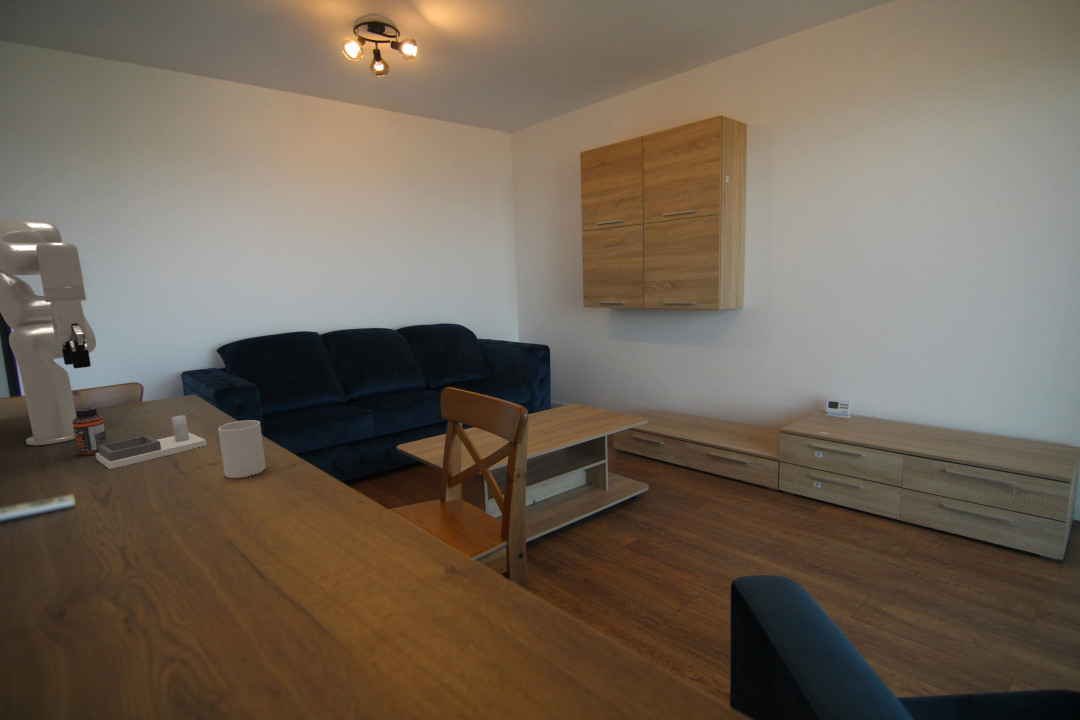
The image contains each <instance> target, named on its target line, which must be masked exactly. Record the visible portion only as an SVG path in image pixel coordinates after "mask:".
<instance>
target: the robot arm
mask: <svg viewBox="0 0 1080 720" xmlns="http://www.w3.org/2000/svg"><path fill="white" fill-rule="evenodd" d="M62 241H63V240H62V234H61V232H60V230H59V228H58V227H57V226H56V225H55V224H54V223H52V222H49V221H46V220H36V219H35V220H34V219H33V220H32V219H11V218H9V219H5V218H4V219H0V314H1V315H2V318H3V320H4V322H5V323H6V324H7V326H8V327H9V328H11V329H12V331H11V332H10V334H9V337H8V343H9V346H10V349H11V351H12V353H13V355H14V358H15V361H16V363H17V366H18V367H17V368H18V369H19V373H20V378H21V383H22V386H23V392H24V397H25V403H26V406H27V412H28V417H29V422H30V426H31V432H32V436H29V437H28V438H26V440H25V442H26V445H28V446H46V445H52V444H54V445H55V444H59V443H65V442H67V441H72V440H76V439H75V434H74V429H73V420H74V419H75V418H76V416H77V415H76V407H75V401H74V397H73V390H72V386H71V381H70V380H71V379H70V375H69V373H68V371H67V370H66V369H65V368H64V367H63V366H61V365H60V364H58V363H57V362H55V361H54V360H55V359H61V358H63V362H64V365H66V366H68V365H72V366H73V368H74V369H82V368H89V367H91V359H90V353H92V352H94V351H95V348H96V346H97V338H96V336H95V332H94V331H93V328H92V327H91V325H90V323H89V321H88V320H87V318H86V316H85V314H84V308H83V305H82V301H87V297H86V296H87V295H86V291H85V284H84V278H83V271H82V267H81V261H80V256H79V250H78V247H77V246H76V245H75V244H73V243H71V242H64V241H63V242H62ZM39 275H40V278H41V279H40V280H41V284H42V285H41V286H42V290H43V291H42V292H43V295H39V294H38V295H37V294H36V293H35V292H34V289H33V288H32V287H31V285H30V284H28V282H26V281H24V280H23V279H21V278H20V277H17V276H39Z"/></svg>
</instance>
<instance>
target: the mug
mask: <svg viewBox="0 0 1080 720" xmlns="http://www.w3.org/2000/svg"><path fill="white" fill-rule="evenodd" d="M217 431H218V436H219V444H220V445H219V446H220V450H221V451H220V452H221V459H222V465H223V473H224V476H225V477H226V478H230V479H241V478H242V477H243V478H247V477H248V476H249V477H252V476H251V475H253V476H255V474H256V475H258V474H260V473H262V472H264V471H265V470H266V460H265V450H264V443H263V434H262V428H261V421H259V420H253V419H249V420H247V419H246V420H239V421H233V422H228V423H225V424H222V425H221V426H219V427H218V430H217ZM264 469H265V470H264ZM263 470H264V471H263ZM249 477H248V478H249Z"/></svg>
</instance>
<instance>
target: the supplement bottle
mask: <svg viewBox="0 0 1080 720" xmlns="http://www.w3.org/2000/svg"><path fill="white" fill-rule="evenodd" d="M75 412H76V418H75V419H74V420H73V429H74V434H75V439H74V440H75V445H76V450H77V453H78V455H80V456H91V455H93V456H94V455H96V453H99V450H98V445H103V444H107V443H108V439H107V434H106V427H105V423H104V417H103V416H102V415H101V414H98V411H97V407H96V406H87V407H81V408H78V409H75Z"/></svg>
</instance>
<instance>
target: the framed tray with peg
mask: <svg viewBox="0 0 1080 720" xmlns="http://www.w3.org/2000/svg"><path fill="white" fill-rule="evenodd" d="M171 422H172V429H173V435H172V436H167V437H163V438H157V439H156V438H154V437H152V436H150V435H147V434H146V435H141V436H136V437H135V436H134V437H132V438H131V437H130V438H128V439H122V440H118V441H113V442H107V444H103V445H98V450H99V453H96V454H95V458H96V459H95V460H97V461H98V462H99V463H101V464H102V465H103V466H104V467H106V468H107V469H109V470H112V469H113V470H114V469H118V468H121V467H125V466H126V467H127V466H128V465H129V466H131V465H135V464H137V463H143V462H145V461H150V460H154V459H157V458H163V457H166V456H170V455H174V454H178V453H179V454H180V453H183V452H187V451H190V450H191V451H192V450H195V449H198V447H200V448H203V447H202V446H204V447H207V446H206V445H207V439H204V438H203V437H201V436H198V435H195V434H193V433H191V432H189V429H188V423H187V417H186V415H185V414H183V415H181V414H180V415H175V416H172V417H171ZM194 448H195V449H194Z"/></svg>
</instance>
